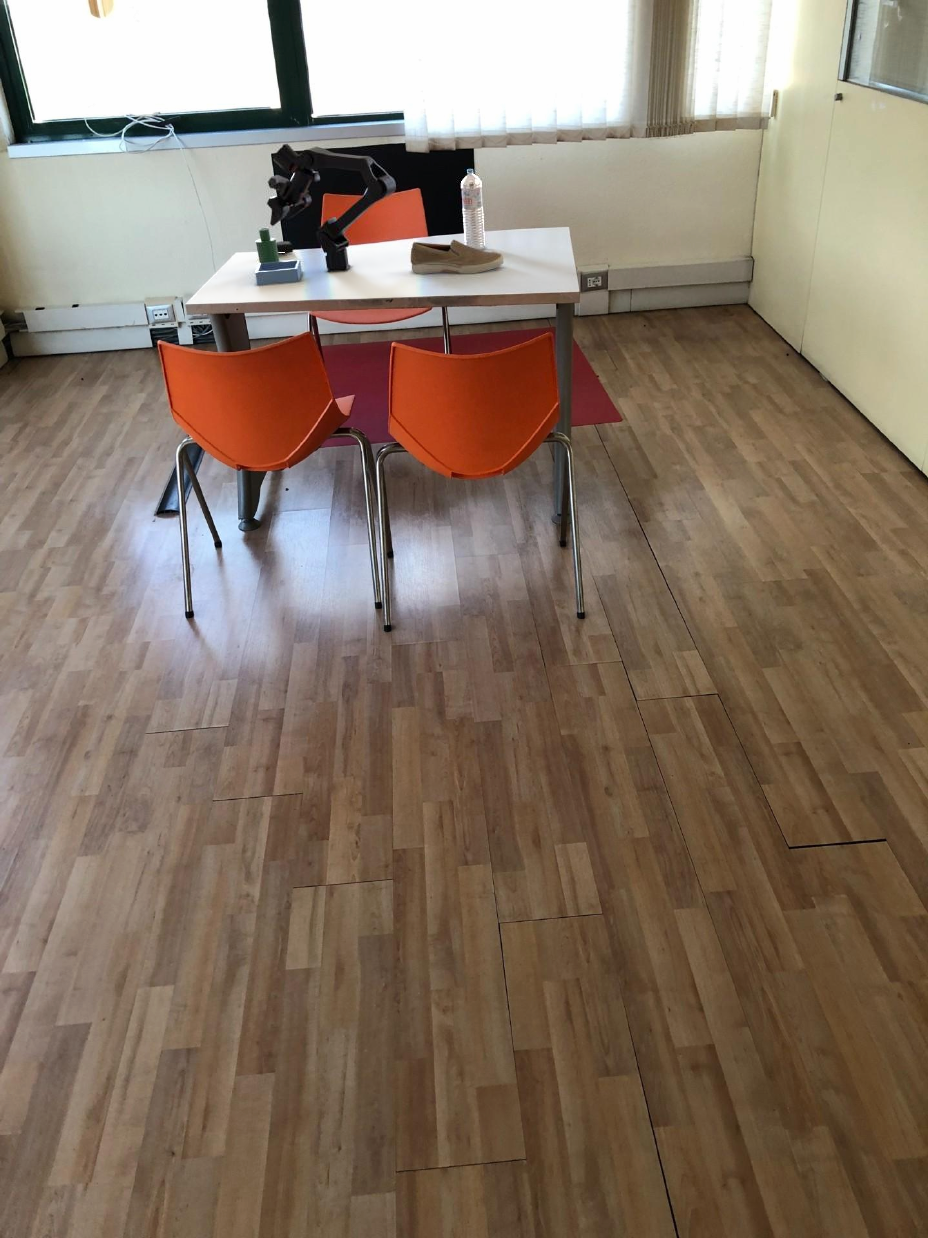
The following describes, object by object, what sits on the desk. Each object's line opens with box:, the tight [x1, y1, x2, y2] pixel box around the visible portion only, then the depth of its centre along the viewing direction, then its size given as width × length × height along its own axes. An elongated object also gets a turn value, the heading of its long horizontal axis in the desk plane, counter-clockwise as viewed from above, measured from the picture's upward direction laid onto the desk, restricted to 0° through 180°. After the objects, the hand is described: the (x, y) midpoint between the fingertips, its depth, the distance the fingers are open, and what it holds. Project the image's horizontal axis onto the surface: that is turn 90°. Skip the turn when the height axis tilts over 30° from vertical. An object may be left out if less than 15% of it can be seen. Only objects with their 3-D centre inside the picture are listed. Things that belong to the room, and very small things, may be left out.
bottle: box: [255, 227, 281, 263], centre depth 322 cm, size 7×7×13 cm
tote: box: [254, 259, 303, 286], centre depth 312 cm, size 13×12×4 cm
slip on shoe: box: [410, 239, 505, 275], centre depth 304 cm, size 30×11×9 cm, turn 78°
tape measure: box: [276, 240, 294, 256], centre depth 343 cm, size 7×7×4 cm
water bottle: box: [460, 168, 486, 251], centre depth 322 cm, size 7×7×25 cm
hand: (278, 221), depth 317 cm, fingers open, 9 cm apart
